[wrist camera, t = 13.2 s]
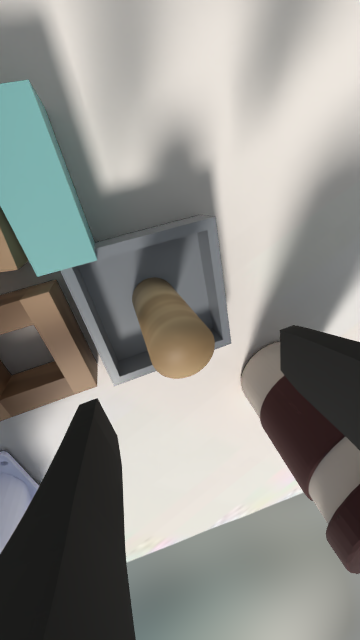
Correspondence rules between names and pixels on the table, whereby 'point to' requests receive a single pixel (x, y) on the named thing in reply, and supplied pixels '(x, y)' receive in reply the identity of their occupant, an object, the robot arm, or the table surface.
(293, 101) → the table surface
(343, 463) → the coffee cup
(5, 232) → the tan wooden slab
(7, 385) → the socket
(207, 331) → the dowel
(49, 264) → the teal rectangular block
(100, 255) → the tray
